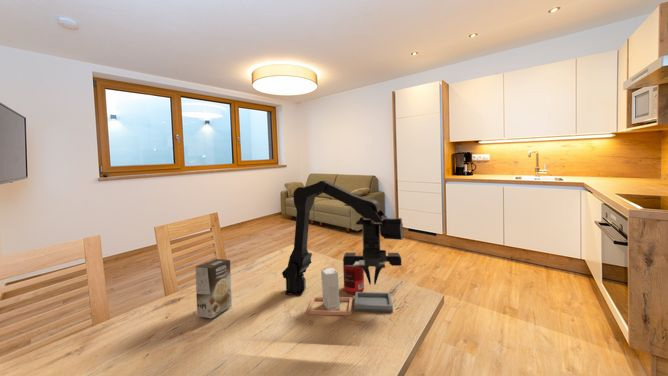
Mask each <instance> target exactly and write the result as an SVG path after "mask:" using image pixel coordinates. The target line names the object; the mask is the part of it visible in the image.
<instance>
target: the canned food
mask: <svg viewBox="0 0 668 376" xmlns="http://www.w3.org/2000/svg"><path fill="white" fill-rule="evenodd" d="M342 266H343V268H342V269H343V271H342V272H343V288H344V291H345V293H348V294H352V295H355V294H356V292H364V290H365V271H364V270H363V268H360V267H359V262H356V261H355V264H354V265H343V264H342Z"/></svg>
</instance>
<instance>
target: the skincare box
mask: <svg viewBox="0 0 668 376" xmlns="http://www.w3.org/2000/svg"><path fill="white" fill-rule="evenodd" d="M320 271H321V273H320V274H321V275H320V276H321V289H322V297H323V300H322V302H323V303H322V304H323V305H324V307H325V310H334V311H340V309H341V306H340V305H341V301H339V297H340V287H339V273H338V272H337V270H335V269H334V268H333V267H328V268H323V269H321V270H320Z"/></svg>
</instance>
